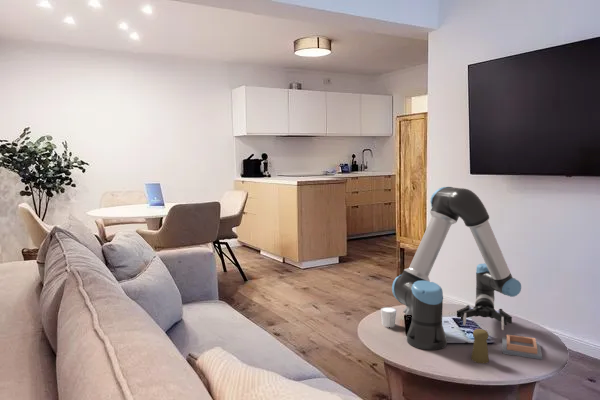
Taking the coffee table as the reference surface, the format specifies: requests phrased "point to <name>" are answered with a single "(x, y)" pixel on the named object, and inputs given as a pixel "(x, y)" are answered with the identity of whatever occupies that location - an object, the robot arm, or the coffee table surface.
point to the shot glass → (388, 316)
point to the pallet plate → (521, 346)
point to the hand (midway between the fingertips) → (483, 324)
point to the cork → (480, 346)
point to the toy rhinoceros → (407, 311)
